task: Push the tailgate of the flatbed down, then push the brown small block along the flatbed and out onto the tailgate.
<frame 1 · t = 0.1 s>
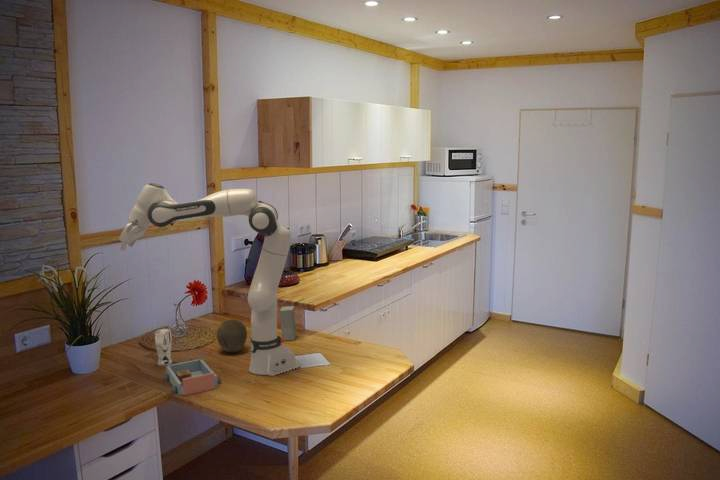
hand: (126, 248, 239), 54 cm above the table, tool tilted 30°, fingers open, 8 cm apart
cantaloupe: (232, 351, 272), on the table
flatbed: (191, 384, 233), on the table
brown small block: (184, 383, 231), point 1 cm above the table, touching flatbed
tailgate: (198, 385, 223), point 4 cm above the table, hinge at 0.0°
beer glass: (165, 363, 257), on the table
skincare box: (288, 338, 289), on the table
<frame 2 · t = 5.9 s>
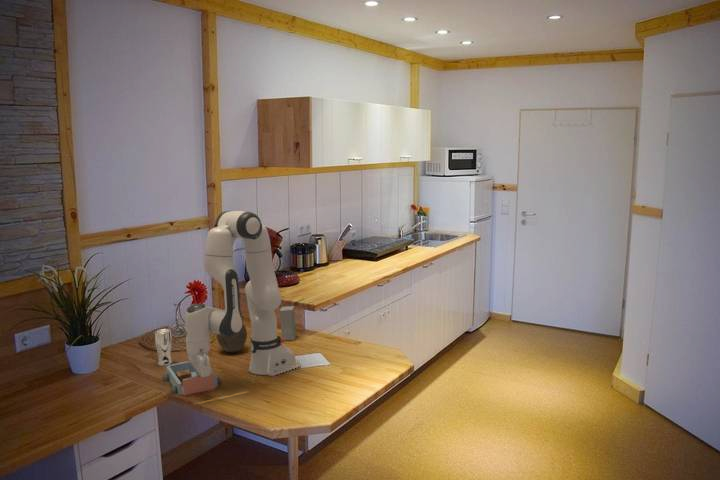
hand: (200, 379, 224), 6 cm above the table, tool pointing down, fingers closed, pressing on tailgate
tailgate: (199, 385, 223), point 4 cm above the table, hinge at 2.9°, touching gripper
everything else where it was.
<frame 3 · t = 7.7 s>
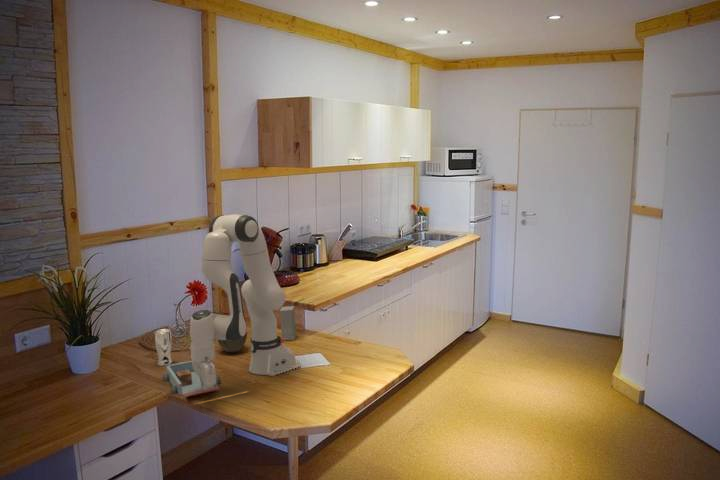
hand: (204, 388, 218), 5 cm above the table, tool pointing down, fingers closed
tailgate: (201, 392, 221), point 2 cm above the table, hinge at 59.4°, touching gripper
everything else where it was.
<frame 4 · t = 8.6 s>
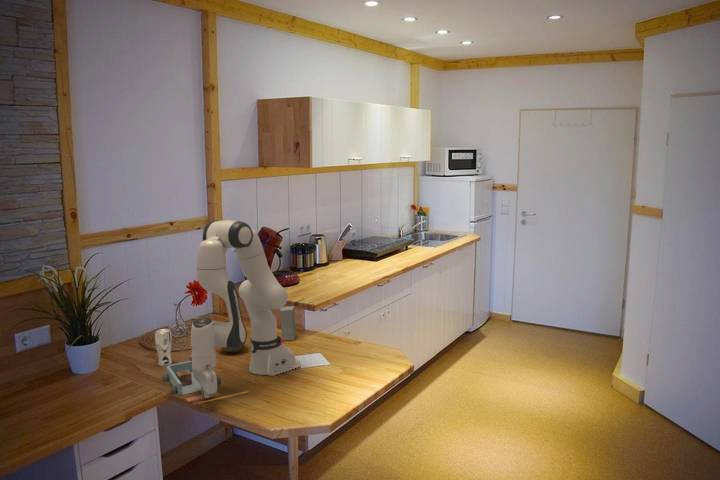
hand: (205, 396, 218), 2 cm above the table, tool pointing down, fingers closed
tailgate: (201, 396, 220), point 1 cm above the table, hinge at 83.7°, touching gripper
everything else where it was.
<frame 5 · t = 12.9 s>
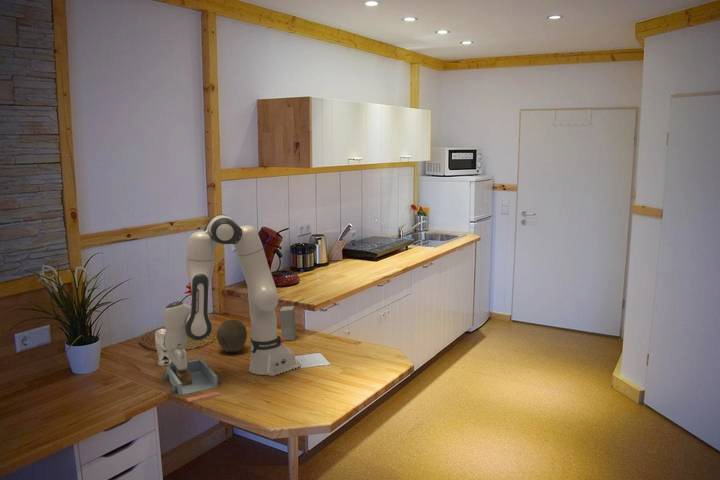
hand: (177, 373, 238), 3 cm above the table, tool pointing down, fingers closed
tailgate: (201, 396, 220), point 1 cm above the table, hinge at 83.8°
everything else where it was.
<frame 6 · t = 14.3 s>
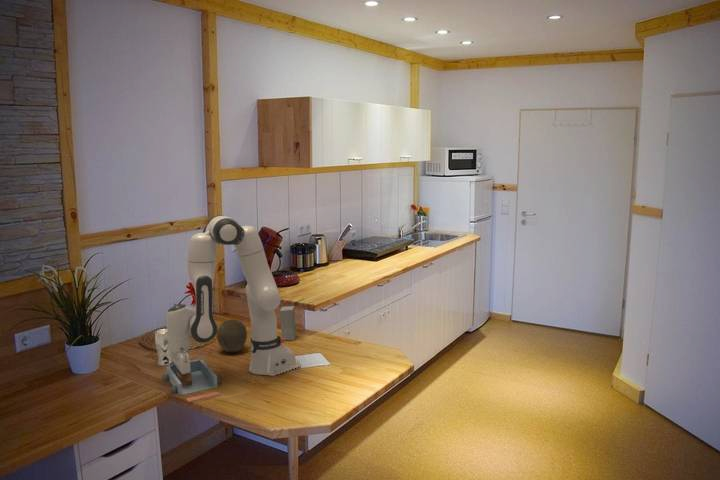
hand: (181, 376, 235), 3 cm above the table, tool pointing down, fingers closed
brown small block: (184, 383, 231), point 2 cm above the table, touching flatbed, gripper
everything else where it was.
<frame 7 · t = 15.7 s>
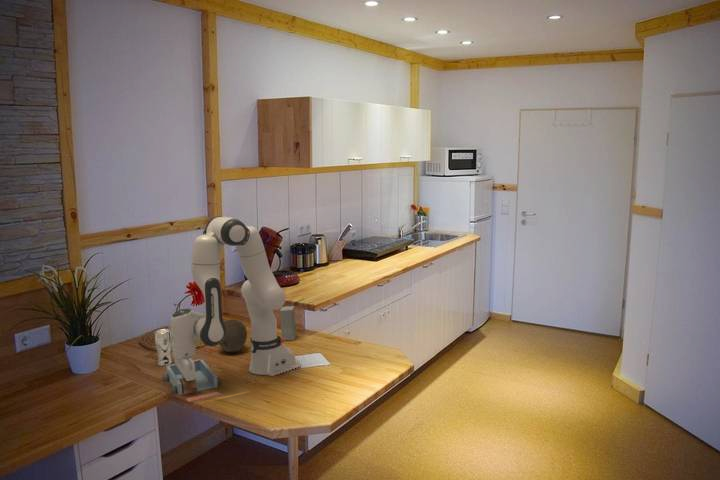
hand: (185, 383, 228), 3 cm above the table, tool pointing down, fingers closed
brown small block: (188, 390, 224), point 2 cm above the table, touching flatbed, gripper
everything else where it was.
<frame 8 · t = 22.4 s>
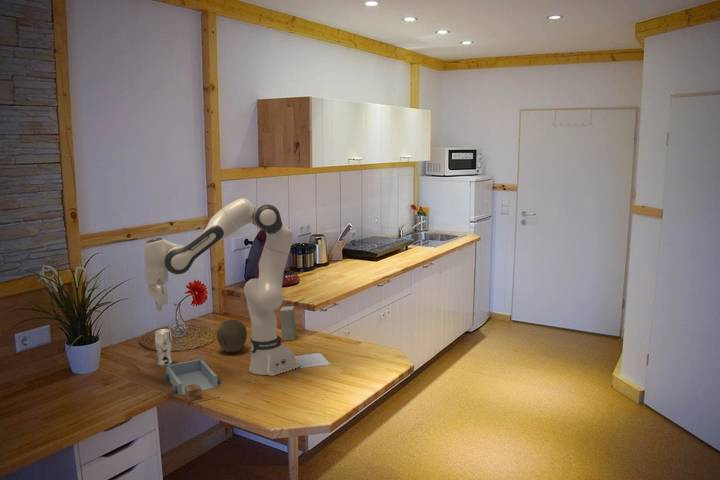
hand: (159, 310, 237), 29 cm above the table, tool pointing down, fingers closed
brown small block: (193, 398, 219), point 1 cm above the table, touching tailgate
tailgate: (201, 397, 220), point 1 cm above the table, hinge at 91.4°, touching brown small block
everything else where it was.
at the end: tailgate at +91° (first picture: +0°); brown small block inside the target area (0.9 cm from its centre), point 1.0 cm above the table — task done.
